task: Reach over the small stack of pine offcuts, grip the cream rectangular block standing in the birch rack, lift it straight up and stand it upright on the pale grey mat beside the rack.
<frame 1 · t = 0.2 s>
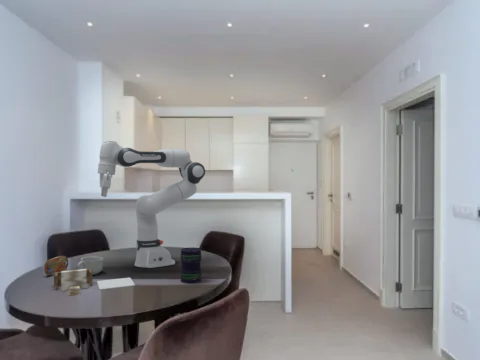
hand: (103, 196, 196), 39 cm above the table, tool pointing down, fingers open, 8 cm apart
offcut low: (74, 296, 152), on the table, touching offcut mid
cream rectangular block: (73, 288, 160), on the table
teacup: (89, 274, 184), on the table
offcut top: (74, 290, 152), point 2 cm above the table, touching offcut mid
mat: (115, 283, 167), on the table
offcut mid: (74, 293, 152), resting on offcut low, touching offcut top
storage jar: (190, 281, 173), on the table
tin: (56, 273, 186), on the table
rack: (73, 283, 167), on the table
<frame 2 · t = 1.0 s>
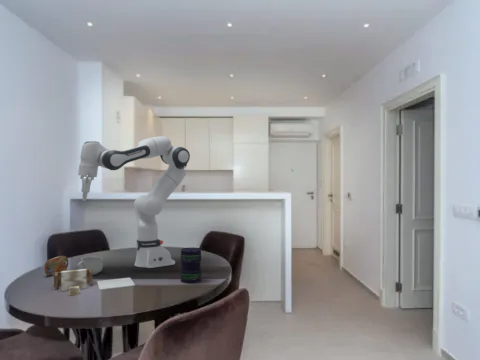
hand: (84, 199, 184), 38 cm above the table, tool pointing down, fingers open, 8 cm apart
nothing on the table moved.
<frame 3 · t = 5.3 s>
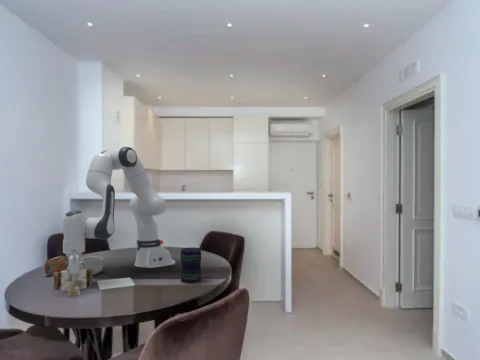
hand: (73, 279, 160), 4 cm above the table, tool pointing down, fingers closed on cream rectangular block, 2 cm apart
cream rectangular block: (73, 288, 160), on the table, touching gripper
offcut top: (73, 290, 152), point 2 cm above the table
offcut mid: (73, 293, 152), point 1 cm above the table, touching offcut low
everything else where it was.
when the fingers open (5 cm above the table, at t = 12.7 s): cream rectangular block stays where it is, resting on mat.
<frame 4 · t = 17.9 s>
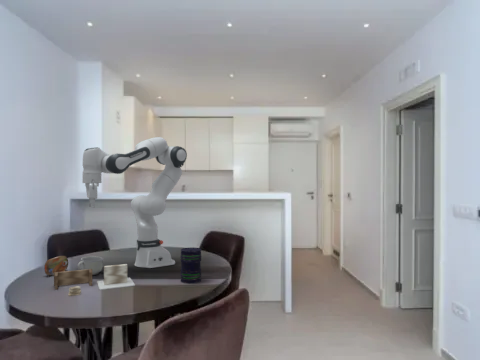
hand: (91, 207, 182), 34 cm above the table, tool pointing down, fingers open, 8 cm apart
cream rectangular block: (115, 282, 168), resting on mat
offcut top: (74, 290, 152), point 2 cm above the table, touching offcut mid
offcut mid: (75, 293, 152), resting on offcut low, touching offcut top
everything else where it was.
at the end: cream rectangular block 0.1 cm from the mat (horizontally); cream rectangular block tilted 0°; offcut top moved 0.9 cm from its start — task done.
